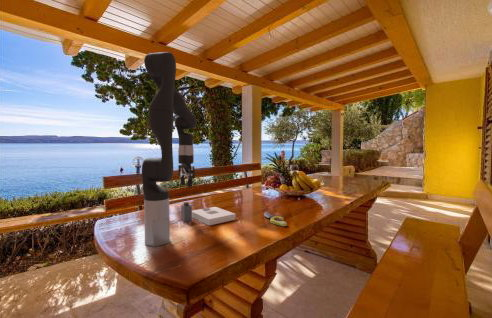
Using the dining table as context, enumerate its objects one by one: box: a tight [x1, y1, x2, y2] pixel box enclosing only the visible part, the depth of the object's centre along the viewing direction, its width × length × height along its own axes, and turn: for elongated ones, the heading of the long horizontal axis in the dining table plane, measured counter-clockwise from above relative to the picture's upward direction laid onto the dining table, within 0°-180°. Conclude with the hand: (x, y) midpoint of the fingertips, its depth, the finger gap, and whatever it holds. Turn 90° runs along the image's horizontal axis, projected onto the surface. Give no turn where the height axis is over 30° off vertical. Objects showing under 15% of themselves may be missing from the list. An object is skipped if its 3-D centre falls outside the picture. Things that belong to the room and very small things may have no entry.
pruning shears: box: [263, 211, 288, 227], centre depth 124 cm, size 8×3×25 cm
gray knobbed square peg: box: [180, 201, 193, 223], centre depth 121 cm, size 4×4×10 cm
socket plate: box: [192, 206, 236, 226], centre depth 127 cm, size 20×16×4 cm
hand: (186, 185), depth 121 cm, fingers open, 8 cm apart
